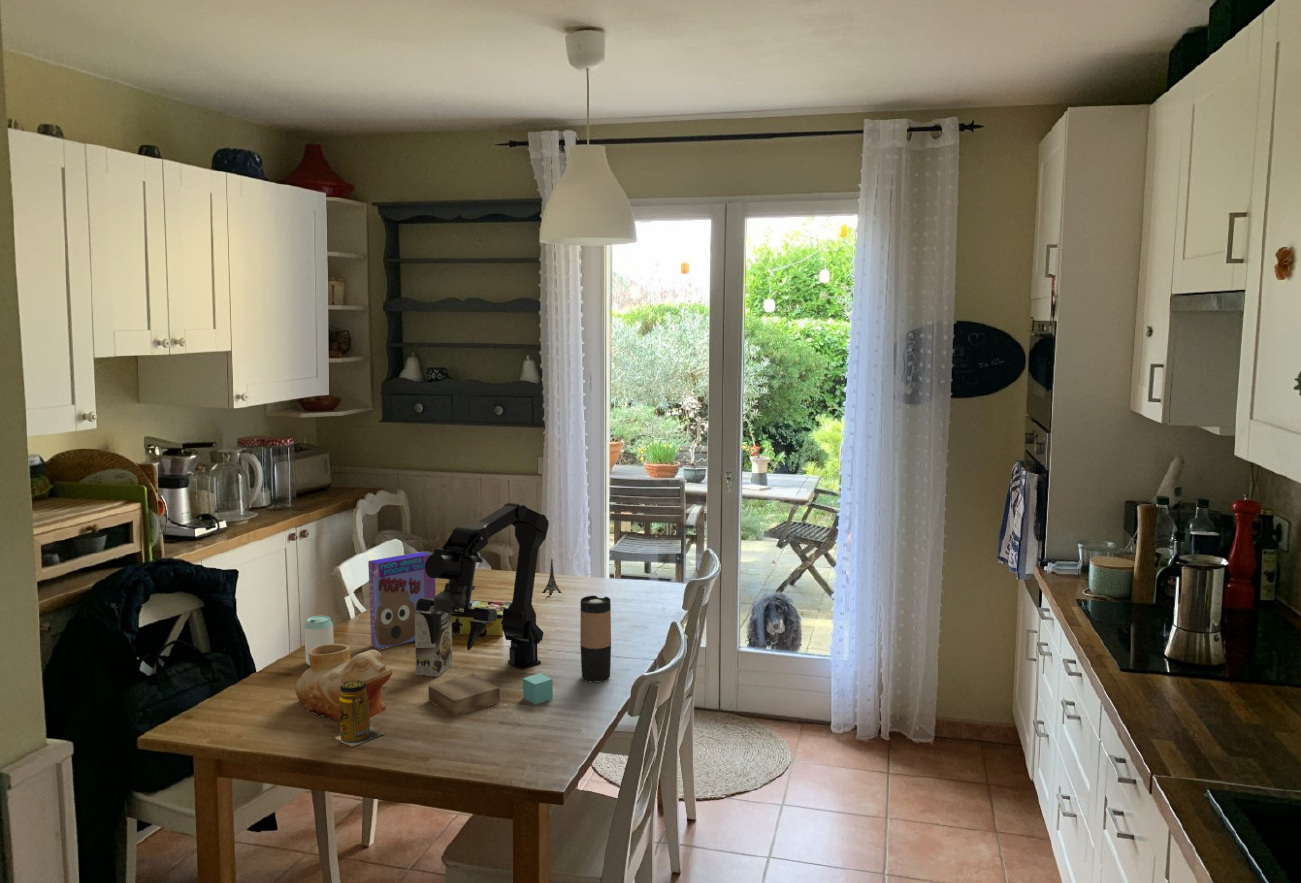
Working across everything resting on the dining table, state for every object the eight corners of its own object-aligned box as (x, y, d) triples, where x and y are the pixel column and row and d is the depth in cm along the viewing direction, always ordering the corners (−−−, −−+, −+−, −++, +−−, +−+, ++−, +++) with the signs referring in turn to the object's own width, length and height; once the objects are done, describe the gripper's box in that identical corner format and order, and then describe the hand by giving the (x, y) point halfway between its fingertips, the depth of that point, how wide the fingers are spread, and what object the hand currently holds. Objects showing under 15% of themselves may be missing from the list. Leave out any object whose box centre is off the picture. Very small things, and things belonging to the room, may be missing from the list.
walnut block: (473, 689, 239) (472, 673, 239) (499, 704, 230) (499, 687, 230) (428, 702, 231) (428, 685, 231) (454, 717, 222) (454, 700, 222)
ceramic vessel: (361, 732, 213) (358, 666, 211) (282, 707, 227) (279, 644, 225) (408, 711, 225) (406, 648, 223) (330, 688, 239) (328, 628, 237)
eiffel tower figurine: (538, 589, 328) (538, 550, 326) (569, 589, 327) (568, 550, 326) (531, 602, 313) (530, 561, 311) (563, 602, 312) (562, 561, 311)
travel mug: (588, 684, 241) (587, 605, 239) (575, 674, 248) (575, 597, 245) (616, 679, 245) (616, 601, 242) (603, 669, 251) (603, 593, 249)
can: (325, 669, 252) (323, 623, 250) (300, 667, 253) (298, 621, 252) (339, 659, 259) (337, 615, 257) (315, 657, 260) (313, 613, 258)
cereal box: (379, 649, 266) (376, 563, 263) (371, 645, 270) (368, 560, 267) (436, 636, 278) (434, 553, 275) (428, 632, 281) (426, 550, 278)
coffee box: (439, 677, 246) (437, 614, 244) (415, 675, 247) (413, 613, 245) (453, 664, 255) (452, 604, 253) (430, 663, 256) (428, 603, 254)
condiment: (332, 738, 211) (330, 684, 209) (366, 725, 217) (364, 673, 216) (351, 747, 206) (349, 692, 204) (386, 734, 212) (384, 681, 211)
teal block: (540, 693, 236) (540, 673, 235) (552, 699, 232) (552, 679, 232) (523, 698, 233) (522, 678, 232) (535, 704, 229) (535, 684, 228)
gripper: (409, 574, 227) (398, 642, 225) (483, 585, 222) (472, 655, 220) (431, 575, 237) (421, 640, 236) (502, 585, 233) (492, 652, 231)
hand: (450, 646), depth 230 cm, fingers open, 9 cm apart
